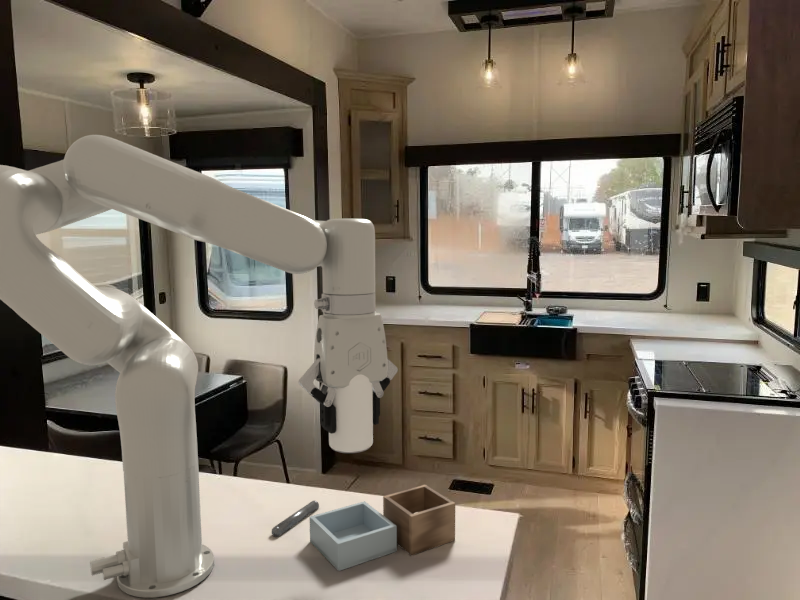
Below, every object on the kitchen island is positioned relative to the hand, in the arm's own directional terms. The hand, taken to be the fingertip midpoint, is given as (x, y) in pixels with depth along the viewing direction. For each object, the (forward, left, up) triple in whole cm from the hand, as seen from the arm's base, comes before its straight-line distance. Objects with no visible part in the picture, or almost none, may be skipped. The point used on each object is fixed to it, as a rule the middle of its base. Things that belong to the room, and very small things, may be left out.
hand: (350, 425), depth 89 cm
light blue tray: (0, 0, -19) cm, 19 cm away
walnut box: (+10, -3, -19) cm, 22 cm away
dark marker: (-4, +12, -19) cm, 23 cm away
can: (0, 0, -3) cm, 3 cm away
